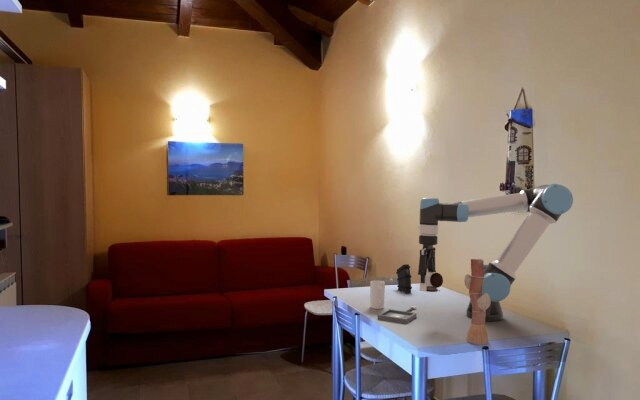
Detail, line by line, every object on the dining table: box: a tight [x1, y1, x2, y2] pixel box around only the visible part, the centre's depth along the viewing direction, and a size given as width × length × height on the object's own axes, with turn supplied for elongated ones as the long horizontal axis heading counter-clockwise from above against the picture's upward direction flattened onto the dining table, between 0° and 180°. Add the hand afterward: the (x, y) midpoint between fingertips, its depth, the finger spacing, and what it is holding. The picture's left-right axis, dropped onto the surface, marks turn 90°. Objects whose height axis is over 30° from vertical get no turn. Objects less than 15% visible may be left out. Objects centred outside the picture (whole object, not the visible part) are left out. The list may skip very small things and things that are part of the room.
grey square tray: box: [377, 308, 418, 325], centre depth 206 cm, size 13×13×2 cm
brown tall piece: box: [463, 258, 491, 346], centre depth 176 cm, size 10×7×30 cm
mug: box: [369, 280, 386, 310], centre depth 224 cm, size 10×7×12 cm, turn 16°
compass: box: [426, 272, 444, 293], centre depth 199 cm, size 8×8×7 cm
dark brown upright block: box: [395, 264, 413, 294], centre depth 264 cm, size 4×13×15 cm, turn 14°
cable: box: [405, 305, 417, 312], centre depth 218 cm, size 2×14×1 cm, turn 149°
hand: (426, 289), depth 201 cm, fingers closed on compass, 8 cm apart
